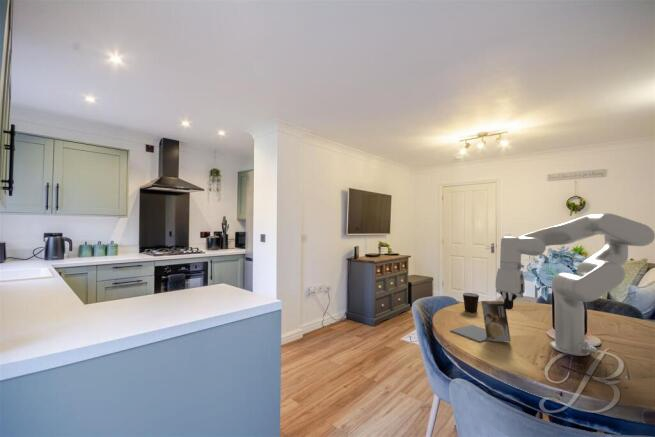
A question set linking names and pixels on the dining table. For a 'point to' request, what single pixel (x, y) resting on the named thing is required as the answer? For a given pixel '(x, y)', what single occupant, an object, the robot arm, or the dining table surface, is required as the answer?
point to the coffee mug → (470, 302)
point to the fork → (589, 375)
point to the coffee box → (495, 321)
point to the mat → (472, 333)
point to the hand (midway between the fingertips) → (508, 308)
